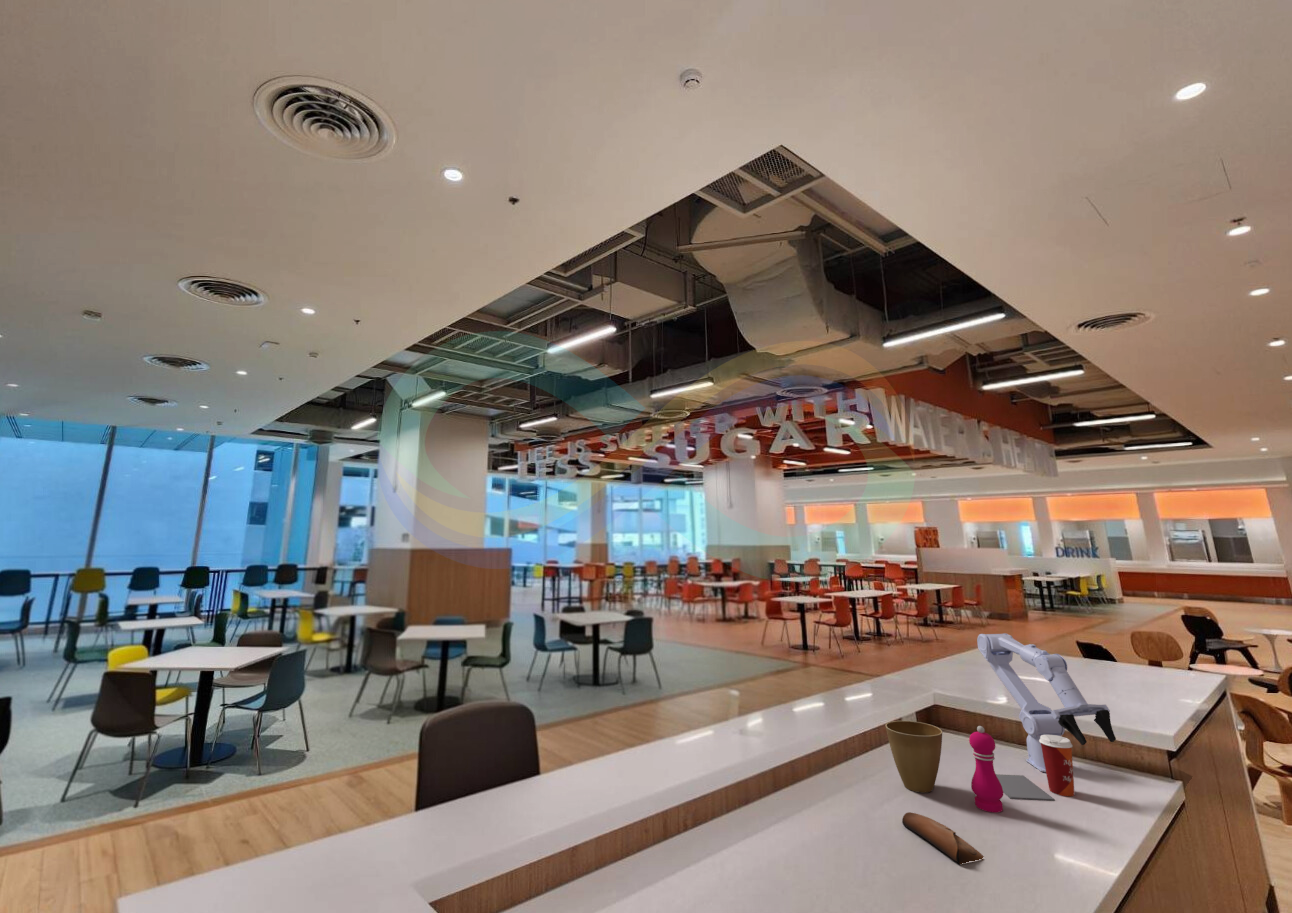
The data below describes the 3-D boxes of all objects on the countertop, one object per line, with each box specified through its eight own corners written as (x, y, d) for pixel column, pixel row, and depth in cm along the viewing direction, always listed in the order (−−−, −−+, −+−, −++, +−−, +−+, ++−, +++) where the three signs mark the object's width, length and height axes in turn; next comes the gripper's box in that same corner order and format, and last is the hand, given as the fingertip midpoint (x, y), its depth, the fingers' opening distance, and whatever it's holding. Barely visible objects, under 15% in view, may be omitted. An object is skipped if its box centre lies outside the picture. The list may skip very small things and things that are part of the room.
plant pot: (958, 798, 151) (952, 735, 153) (903, 798, 151) (898, 736, 154) (932, 776, 165) (926, 719, 168) (881, 776, 166) (877, 719, 168)
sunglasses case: (990, 859, 121) (974, 832, 121) (969, 882, 119) (952, 854, 119) (931, 821, 138) (917, 798, 139) (911, 840, 136) (897, 816, 137)
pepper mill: (1010, 814, 141) (1000, 731, 145) (979, 812, 143) (970, 729, 146) (998, 802, 148) (989, 722, 152) (969, 800, 150) (961, 721, 153)
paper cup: (1079, 800, 149) (1072, 744, 151) (1044, 793, 153) (1037, 739, 156) (1079, 790, 155) (1072, 736, 157) (1045, 784, 159) (1039, 731, 162)
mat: (983, 775, 166) (983, 773, 166) (1023, 776, 164) (1023, 775, 164) (1010, 798, 150) (1010, 797, 150) (1054, 800, 149) (1054, 799, 149)
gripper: (1047, 690, 161) (1076, 739, 151) (1099, 684, 160) (1132, 733, 150) (1039, 701, 166) (1067, 749, 155) (1090, 695, 164) (1122, 743, 154)
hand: (1098, 742), depth 153 cm, fingers open, 7 cm apart
